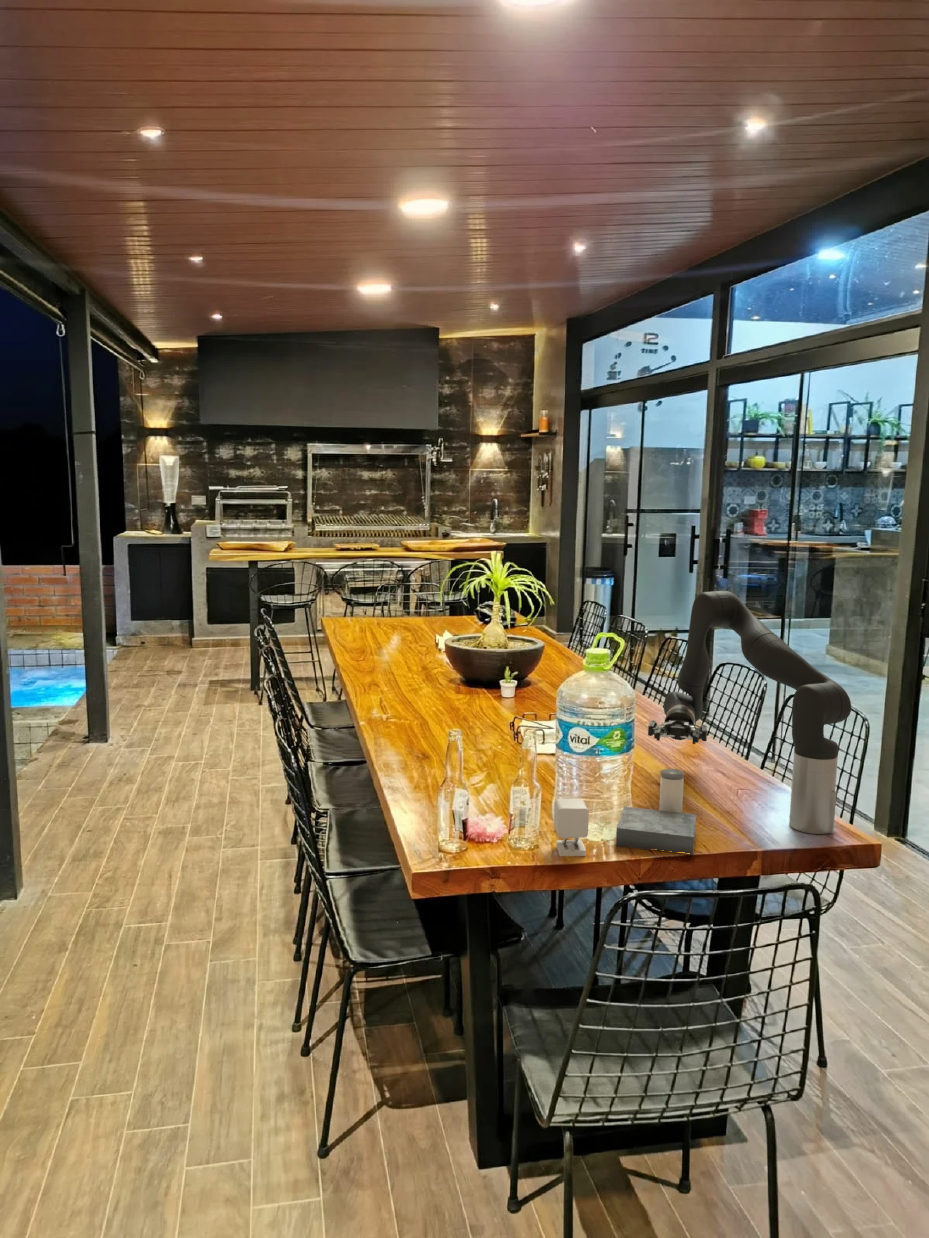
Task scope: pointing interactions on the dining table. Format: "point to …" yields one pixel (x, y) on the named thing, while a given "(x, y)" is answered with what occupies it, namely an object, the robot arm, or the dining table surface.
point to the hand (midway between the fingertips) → (676, 738)
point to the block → (656, 830)
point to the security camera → (571, 826)
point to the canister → (671, 790)
